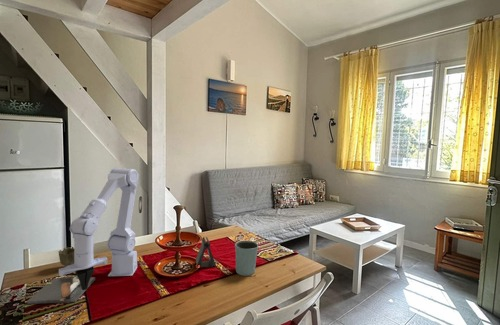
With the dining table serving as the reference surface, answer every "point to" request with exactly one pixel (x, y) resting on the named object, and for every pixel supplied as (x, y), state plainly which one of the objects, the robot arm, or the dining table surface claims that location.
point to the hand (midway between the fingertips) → (84, 288)
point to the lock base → (57, 292)
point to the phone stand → (200, 255)
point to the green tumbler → (246, 257)
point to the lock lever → (69, 287)
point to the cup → (66, 256)
